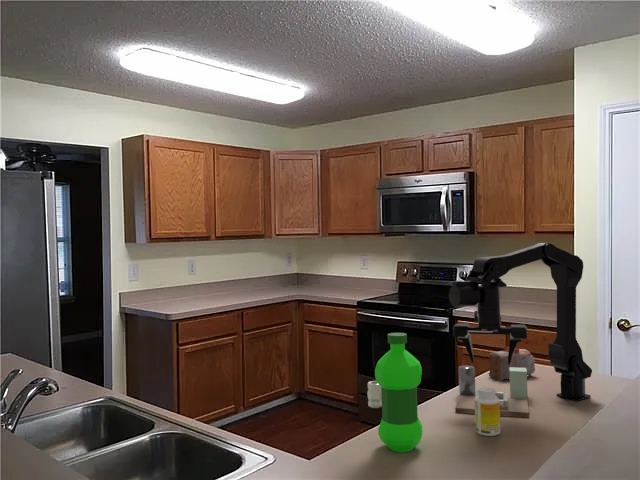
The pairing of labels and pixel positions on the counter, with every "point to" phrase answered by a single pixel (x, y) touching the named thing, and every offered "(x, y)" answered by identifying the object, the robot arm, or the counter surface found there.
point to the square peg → (518, 383)
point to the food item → (518, 360)
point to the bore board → (507, 405)
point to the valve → (374, 395)
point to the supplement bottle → (487, 412)
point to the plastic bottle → (399, 395)
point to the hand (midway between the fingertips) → (490, 363)
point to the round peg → (467, 380)
